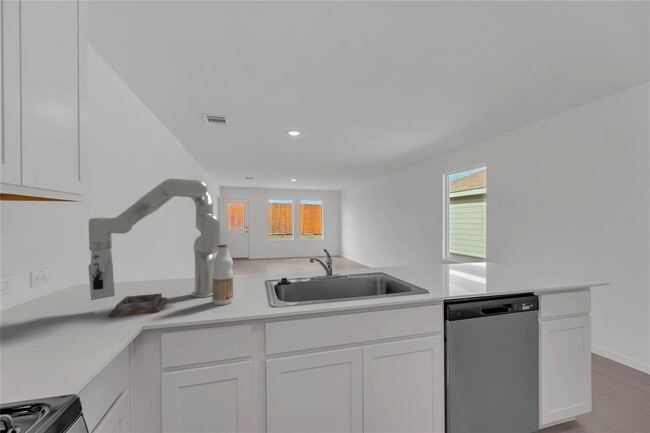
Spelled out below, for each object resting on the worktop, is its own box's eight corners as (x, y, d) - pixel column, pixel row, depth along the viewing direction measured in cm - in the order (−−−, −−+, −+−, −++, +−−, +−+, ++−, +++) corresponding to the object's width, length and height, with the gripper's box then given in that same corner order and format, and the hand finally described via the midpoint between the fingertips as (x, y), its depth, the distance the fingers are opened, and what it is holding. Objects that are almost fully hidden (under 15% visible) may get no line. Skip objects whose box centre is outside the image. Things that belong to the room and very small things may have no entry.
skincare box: (114, 293, 125) (113, 261, 124) (114, 296, 120) (113, 262, 120) (89, 297, 119) (88, 263, 119) (89, 301, 115) (88, 265, 114)
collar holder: (166, 300, 136) (166, 292, 136) (159, 312, 119) (159, 302, 119) (123, 304, 130) (123, 295, 130) (108, 317, 113) (108, 307, 113)
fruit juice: (216, 306, 127) (216, 246, 127) (209, 301, 134) (210, 244, 134) (236, 302, 133) (236, 244, 133) (228, 298, 140) (229, 243, 140)
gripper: (103, 247, 112) (104, 291, 113) (117, 243, 129) (119, 281, 129) (80, 249, 110) (81, 293, 110) (98, 244, 126) (99, 283, 126)
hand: (102, 286), depth 120 cm, fingers closed on skincare box, 7 cm apart
